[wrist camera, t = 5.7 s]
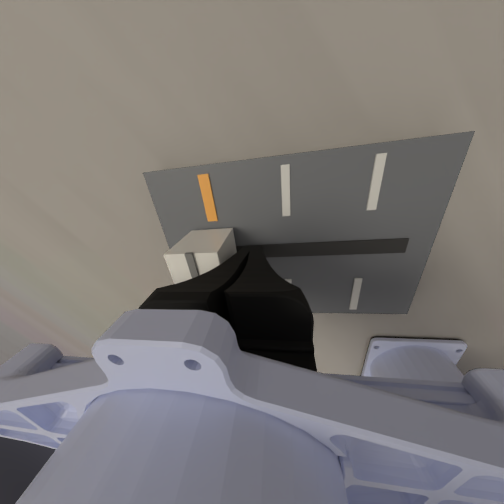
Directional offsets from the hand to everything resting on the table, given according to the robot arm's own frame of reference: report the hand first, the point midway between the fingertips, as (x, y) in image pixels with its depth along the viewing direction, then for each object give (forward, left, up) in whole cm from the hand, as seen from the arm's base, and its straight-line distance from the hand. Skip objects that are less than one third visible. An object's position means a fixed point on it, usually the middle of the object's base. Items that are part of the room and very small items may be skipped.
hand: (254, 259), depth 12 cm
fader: (0, +3, -1) cm, 3 cm away
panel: (0, -2, -3) cm, 4 cm away
